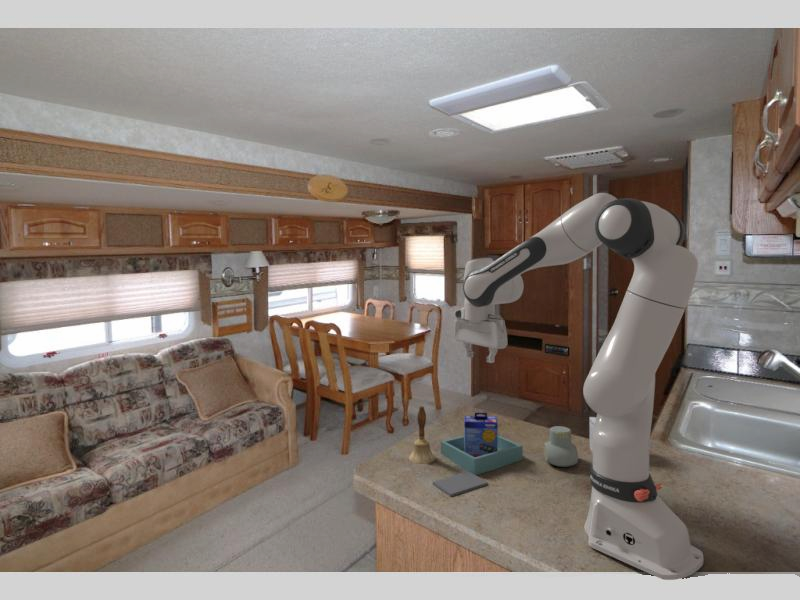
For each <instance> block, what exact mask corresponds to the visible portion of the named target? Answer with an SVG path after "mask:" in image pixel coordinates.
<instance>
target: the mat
mask: <svg viewBox="0 0 800 600" xmlns="http://www.w3.org/2000/svg"><path fill="white" fill-rule="evenodd" d="M488 484H489V483H488V481H486V480H485V479H483V478H482V477H479V476H478V475H474V474H473V473H471V472H469V471H464V472H460V473H457V474H455V475H451V476H447V477H445V478H441V479H437V480H434V481H432V485H433V486H435V487H436V488H437V489H439V490H441V492H443V493H444V494H446V495H447V496H449V497H455V496H456V495H461V494H463V493H466V492H469V491H471V490H474V489H479V488H482V487H484V486H487V485H488Z"/></svg>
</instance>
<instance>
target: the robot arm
mask: <svg viewBox="0 0 800 600" xmlns="http://www.w3.org/2000/svg"><path fill="white" fill-rule="evenodd" d="M685 237H686V230H685V225H684V223H683V221H682V220H681V219H680V217H679V216H678V215H677V214H675V213H673V212H672V211H670V210H667V209H664V208H661V206H659V205H657V204H655V203H652V202H650V201H649V202H648V201H643V200H639V199H636V198H630V197H628V198H627V197H625V198H619V199H618V198H617V197H615V196H614V195H612V194H610V193H607V192H598V193H595V194H593V195H591V196H589V197H587V198H586V199H585V198H584V199H583V200H582V201H580V202H579V203H577V204H575V205H574V206H572V207H571V208H569V209H568V210H566V211H565V212H564V213H562V215H561V214H560V216H558V217H557V218H556V219H555V220H553V221H551V223H549V224H548V225H547V226H545V227H544V228H543V229H540V231H539V232H537V233H535V234H534V235H532V236H531V237H529V238H528V239H526V240H525V241H523V242H522V243H519V244H518V245H516V246H515V247H514V248H512V249H511V250H509V251H507V252H506V253H505V254H503V255H501V256H500V257H499V258H497V259H495V260H494V259H493V258H492V257H487V256H486V257H485V256H483V257H476V258H473V259H472V258H471V259H470V260H468V261H467V262H466V263H465V268H464V273H463V274H464V275H463V284H462V289H463V290H462V291H463V295H464V301H463V304H464V305H463V306H462V307H461V308H459V309H457V310H454V311H453V317H454V323H453V327H454V329H453V331H454V332H453V333H454V334H453V335H454V338H455V341H456V342H461V343H463V345H462V346H463V348H464V351H465V357H466V358H468V359H472V358H474V351H473V350H472V347H471V346H472V345H475V346H481V347H484V348H488V352H489V354H488V355H486V363H489V364H493V363H495V361H496V360H495V358H496V355H497V354H498V350H502V349H506V348H507V346H508V332H507V327H506V322H505V319H504V318H503V317H502V316H501V315H499V314H498V315H496V312H495V311H496V310H495V308H496V306H495V305H501V304H510V303H514V302H517V301H518V300H520V298H521V297H522V295H523V294H524V290H525V282H524V279H523V276H522V274H524V273H526V272H528V271H531V270H535V269H538V268H539V269H540V268H543V267H544V268H545V267H552V266H560V265H567V264H570V263H572V262H574V261H577V260H578V259H581V258H583V257H585V256H586V255H588V254H590V253H591V252H592V251H594V250H596V249H597V248H599V247H600V246H601V245H602V244H603V245H605V246H606V247H607V248H608V249H610V250H612V251H613V252H614V253H615V254H617V255H618V256H620V257H621V258H622V259H624V260H632V263H633V266H634V267H633V269H634V270H633V274H632V277H631V280H630V282H629V285H628V286H627V289H626V291H625V294H624V297H623V300H622V302H621V305H620V307H619V310H618V312H617V314H616V317H615V320H614V322H613V324H612V326H611V328H610V330H609V332H608V334H607V336H606V337H605V340H604V341H603V343H602V345H601V347H600V350H599V351H598V353H597V356H596V358H595V359H594V361H593V364H592V366H591V367H590V370H589V373H588V375H587V376H586V378H585V381H584V383H583V388H582V390H583V391H582V393H583V398H584V401H585V402H586V404H587V406H589V408H590V409H591V410H592V411H593V412H594V413H596V422H595V426H594V429H593V452H592V465H591V466H590V473H589V474H590V476H589V479H590V481H589V482H590V485H591V494H590V501H589V509H588V512H587V517H586V520H585V523H584V525H583V526H584V532H585V533H586V535H587V537H588V541H587V542H588V546H589V548H592V549H594V550H596V551H599V552H601V553H603V554H605V555H607V556H610V557H611V558H614V559H616V560H619V561H621V562H623V563H625V564H627V565H630V566H632V567H634V568H636V569H638V570H641V571H643V572H645V573H647V574H649V575H651V576H654V577H656V578H658V579H661V580H665V581H672V580H673V581H674V580H675V581H676V580H680V579H684V578H687V577H688V576H691V575H693V574H694V573H696V572H698V571H699V570H700V568H702V567H703V565H704V553H703V552H702V550H700V549H698V548H697V547H696V546H695V545H694V546H693V545H692V544H691V541H690V535H689V531H688V528H687V525H686V524H685V523H684V521H682V519H680V518H679V517H678V516H677V514H676V513H674V511H673V510H672V509H671V508H670V507H669V506H668V505H667V504H666V503H665V502H664V500H662V499H661V498H660V497H659V496H658V491H659V490H661V489H663V486H662V485H663V483H661V482H660V483H657V484H655V482H654V480H653V477H652V475H651V474H650V442H651V441H650V440H651V429H652V423H653V412H654V402H655V391H656V390H655V389H656V373H657V370H658V369H659V367H660V364H661V363H662V361H663V359H664V356H665V355H666V352H667V351H668V349H669V347H670V345H671V343H672V341H673V339H674V336H675V334H676V331H677V329H678V327H679V324H680V323H681V319H682V317H683V315H684V313H685V310H686V308H687V305H688V304H689V301H690V298H691V296H692V292H693V290H694V287H695V286H694V285H695V283H696V282H695V281H696V278H697V273H698V268H699V267H698V265H699V261H698V259H697V257H696V255H695V254H694V253H693V252H692V251H691V250H689V249H688V248H686V247H685V246H682V245H683V243H684V241H685Z"/></svg>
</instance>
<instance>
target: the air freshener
mask: <svg viewBox="0 0 800 600" xmlns="http://www.w3.org/2000/svg"><path fill="white" fill-rule="evenodd" d="M543 454H544V458H545V459H544V460H545V461H546V462H547V463H548V464H550V465H553V466H555V467H559V468H567V467H568V468H569V467H571V466H574V465H576V464H578V461H579V454H578V449H577V446H576V445H575V444H574V443H572V430H571V428H568V427H566V426H560V425H559V426H558V425H555V426H552V427H550V428H549V440H548V441H546V442H545V443H543Z"/></svg>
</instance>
